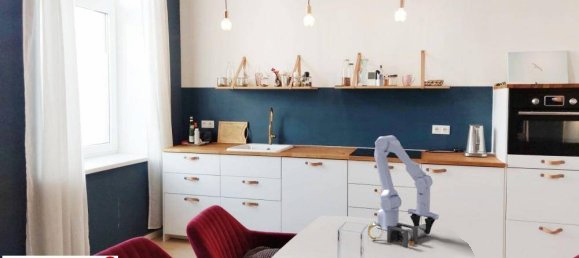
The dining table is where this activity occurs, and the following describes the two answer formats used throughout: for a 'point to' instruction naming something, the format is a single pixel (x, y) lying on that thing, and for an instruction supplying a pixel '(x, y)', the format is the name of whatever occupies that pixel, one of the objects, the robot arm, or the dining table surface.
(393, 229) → the black bracket with roller
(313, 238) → the dining table surface
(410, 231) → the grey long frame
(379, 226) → the alarm clock
